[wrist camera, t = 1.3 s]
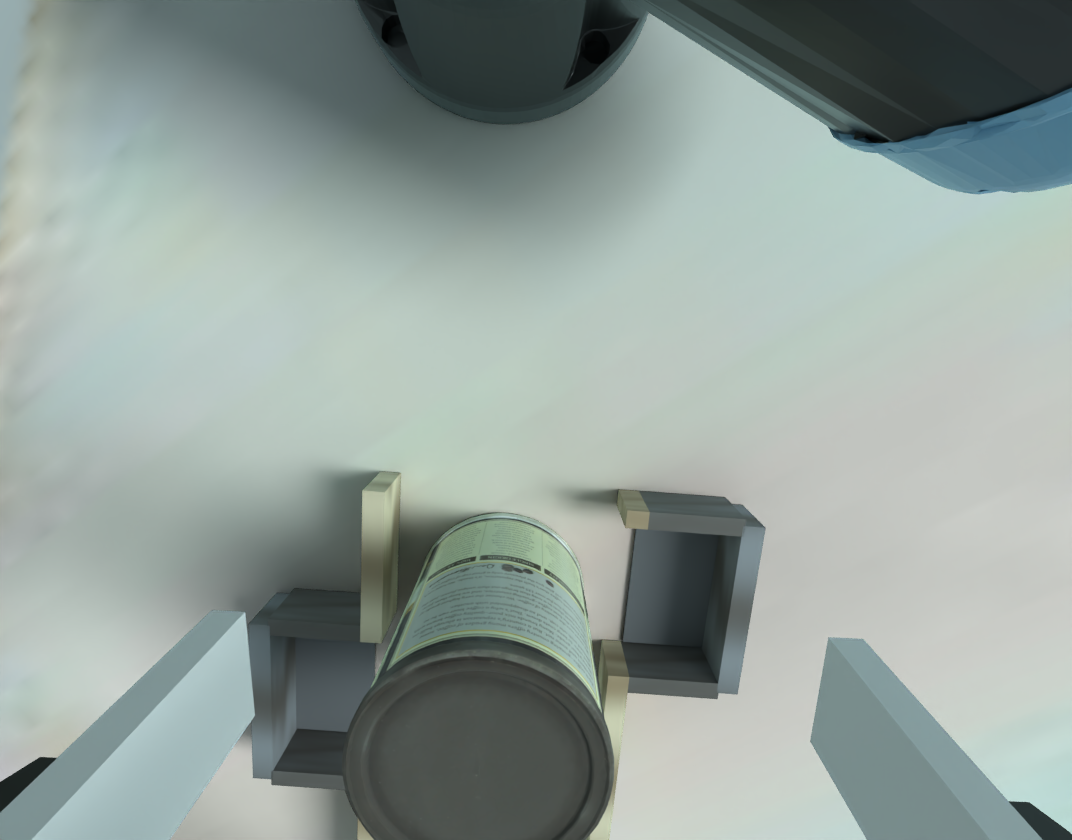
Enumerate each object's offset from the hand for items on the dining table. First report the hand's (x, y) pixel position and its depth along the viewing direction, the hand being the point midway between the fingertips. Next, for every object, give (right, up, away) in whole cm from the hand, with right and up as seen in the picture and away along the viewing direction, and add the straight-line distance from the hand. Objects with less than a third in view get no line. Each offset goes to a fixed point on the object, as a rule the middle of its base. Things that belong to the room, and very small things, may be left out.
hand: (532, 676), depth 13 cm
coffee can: (-2, -5, +22) cm, 23 cm away
